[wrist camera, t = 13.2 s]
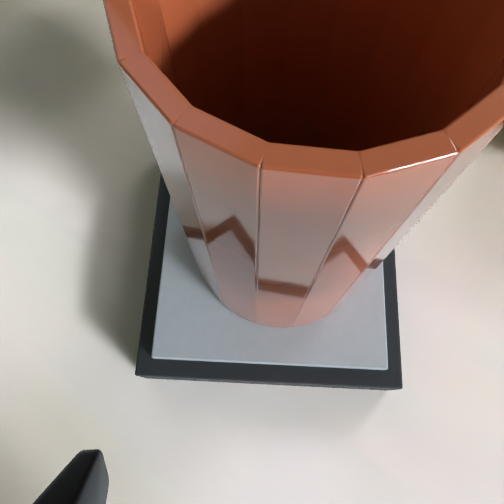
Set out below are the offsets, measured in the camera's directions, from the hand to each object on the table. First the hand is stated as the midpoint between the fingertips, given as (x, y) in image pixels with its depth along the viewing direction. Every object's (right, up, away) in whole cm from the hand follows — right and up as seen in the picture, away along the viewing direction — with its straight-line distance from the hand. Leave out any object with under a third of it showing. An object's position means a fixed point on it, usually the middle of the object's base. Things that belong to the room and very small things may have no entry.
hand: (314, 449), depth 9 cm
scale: (0, +4, +13) cm, 13 cm away
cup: (0, +5, +10) cm, 11 cm away
